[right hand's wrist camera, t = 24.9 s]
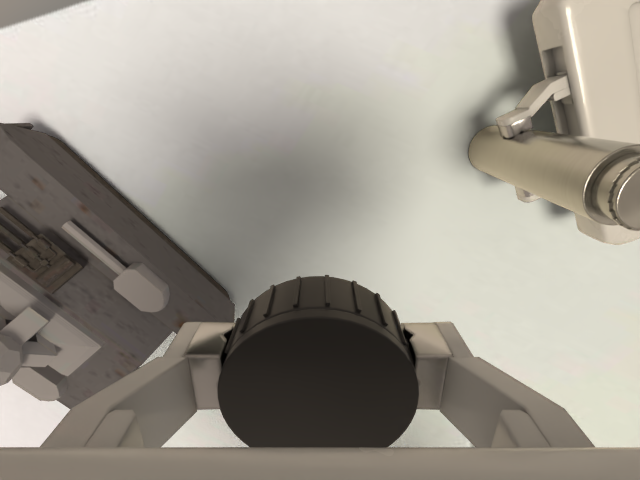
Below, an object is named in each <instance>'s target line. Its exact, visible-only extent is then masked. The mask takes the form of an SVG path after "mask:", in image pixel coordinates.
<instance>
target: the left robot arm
mask: <svg viewBox="0 0 640 480" xmlns="http://www.w3.org/2000/svg"><path fill="white" fill-rule="evenodd" d="M532 21H533V26H534V31H535V35H536V40H537V44H538V49H539V53H540V58H541V63H542V67H543V72H544V76H545V80H543V81H541V82H539V83H537V84H534V85H533V86H532V87H531V88H530V90H529V91H528V92H527V94H526V95H525V96H524V97H523V99H522V100H521V101H520V102H519V104H518V105H517V106H516V109H515V110H513V111H511V112H509V113H506V114H504V115H502V116H500V117H498V118H497V119H496V122H497V125H498V129H499V133H500V136H501V137H505V138H511V137H514V136H516V135H518V134H519V133H520V132H521V131H522V132H525V131H527V130H529V129H532V128H533V125H532V120H531V117H532V116H533V115H534V114H535V113H536V112H537V111H538V110H539V108H540V107H541V106H542V105H543V104H544V103H545V102H546V101H550V104H551V108H552V113H553V117H554V122H555V126H556V131H557V133H560V134H567V135H575V136H582V137H590V138H597V139H605V140H613V141H620V142H628V143H635V144H640V0H541V1H540V2H539V4H538V6H537V7H536V9H535V11H534V13H533V15H532ZM515 190H516V194H517V197H518V199H519V200H521V201H523V202H532V201H535V200H537V199H539V198H541V197H539V196H536V195H534V194H532V193H530V192H527V191H525V190H523V189H521V188H518V187H516V186H515ZM574 213H575V212H574ZM575 218H576V223H577V227H578V229H579V231H580V232H582V233H584V234H586V235H588V236H590V237H591V238H594V239H596V240H598V241H601V242H604V243H607V244H613V245H621V244H625V243H628V242H631V241H634V240H637V239H639V238H640V231H632V230H629V229H626V228H624V227H622V226H620V225H604V224H600V223H597V222H595V221H593V220H591V219H588V218H586V217H584V216H582V215H579V214H577V213H575Z"/></svg>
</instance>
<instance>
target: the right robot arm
mask: <svg viewBox="0 0 640 480" xmlns="http://www.w3.org/2000/svg"><path fill="white" fill-rule="evenodd" d="M234 326H235V323H231V322H186V323H184V324H183V325H182V327H181V329H180V330H179V332H178V333H177V335H176V336H175V338H174V340H173V341H172V343H171V344H170V346H169V348H168V349H167V351H166V352H165V354H164V356H163V357H157V358H155V359H153V360H152V361H150V362H148V363H147V364H145V365H143V366H142V367H140V368H138V369H137V370H135V371H133V372H132V373H130V374H128V375H127V376H125V377H123V378H122V379H120V380H118V381H117V382H115V383H113V384H112V385H110V386H108V387H106V388H105V389H103V390H101V391H100V392H98V393H96V394H95V395H93V396H91V397H90V398H88V399H86V400H85V401H83V402H81V403H80V404H78V405H76V406H75V407H73V408H72V409H71V410H70V411H69V412H68V413H67V415H66V416H65V417H64V418H63V419H62V421H61V422H60V423H59V424H58V426H57V427H56V428H55V429H54V430H53V432H52V433H51V434H50V435H49V437H48V438H47V439H46V440H45V441H44V443H43V444H42V445H41V446H40V447H0V480H640V447H613V448H596V447H595V446H594V445H593V444H592V442H591V441H590V440H589V439H588V437H587V436H586V435H585V434H584V432H583V431H582V430H581V429H580V427H579V426H578V425H577V424H576V422H575V421H574V420H573V419H572V417H571V416H570V415H569V414H568V412H567V411H566V410H565V409H564V408H562V407H561V406H559V405H557V404H556V403H554V402H553V401H551V400H549V399H548V398H546V397H544V396H543V395H541V394H539V393H538V392H536V391H534V390H533V389H531V388H529V387H528V386H526V385H524V384H523V383H521V382H519V381H518V380H516V379H514V378H513V377H511V376H509V375H508V374H506V373H504V372H503V371H501V370H499V369H498V368H496V367H495V366H493V365H491V364H490V363H488V362H486V361H485V360H483V359H481V358H480V357H474V356H473V355H472V353H471V352H470V350H469V348H468V347H467V345H466V344H465V342H464V340H463V339H462V337H461V335H460V334H459V332H458V331H457V329H456V327H455V326H454V324H453V323H452V322H434V323H401V328H402V331H403V334H404V336H405V338H406V339H407V340H408V342H409V351H410V354H411V357H412V359H413V362H414V368H415V371H416V375H417V379H418V383H419V400H418V406H417V409H435V410H440V412H441V413H442V414H443V415H444V416H445V417H446V418H447V419H448V420H449V421H450V422H451V423H452V424H453V425H454V426H455V427H456V428H457V429H458V430H459V431H460V432H461V433H462V434H463V435H464V436H465V437H466V438H467V439H468V440H469V441H470V442H471V443H472V444H473V445H474V446H475V447H476V448H378V447H187V448H160V447H161V446H162V445H163V444H164V443H165V442H167V441H168V440H169V439H170V438H171V437H172V436H173V435H174V434H175V433H176V432H177V431H178V430H179V429H180V428H181V427H182V426H183V425H184V424H185V423H186V422H187V421H188V420H189V419H190V418H191V417H192V416H193V415H194V414H195V413H196V412H197V410H201V409H220V407H219V402H218V393H217V386H218V380H219V375H220V373H221V370H222V367H223V364H224V361H225V359H226V356H227V353H225V350H226V347H227V344H228V342H229V339H230V337H231V334H232V331H233V329H234Z"/></svg>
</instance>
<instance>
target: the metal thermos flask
mask: <svg viewBox="0 0 640 480" xmlns="http://www.w3.org/2000/svg"><path fill="white" fill-rule="evenodd" d="M469 159H470V162H471V163H472V165H473V166H474V167H475V168H476V169H478V170H480V171H482V172H484V173H487V174H489V175H491V176H494V177H496V178H498V179H500V180H503V181H505V182H507V183H509V184H512V185H514V186H516V187H518V188H521V189H523V190H525V191H527V192H530V193H532V194H534V195H536V196H539V197H541V198H543V199H545V200H548V201H550V202H552V203H554V204H557V205H559V206H561V207H563V208H566V209H568V210H570V211H573V212H575V213H577V214H579V215H582V216H584V217H586V218H588V219H591V220H593V221H595V222H597V223H600V224H604V225H620V226H622V227H624V228H626V229H629V230H632V231H640V144H635V143H628V142H620V141H613V140H605V139H597V138H590V137H582V136H575V135H567V134H560V133H552V132H545V131H537V130H527V131H525V132H522V131H521V132H520V133H519V134H518V135H516V136H514V137H511V138H505V137H501V136H500V133H499V129H498V125H493V126H489V127H486V128H484V129H482V130H481V131H479V132H478V133H477V134H476V135H475V136H474V138H473V139H472V141H471V143H470V146H469Z"/></svg>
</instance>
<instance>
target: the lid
mask: <svg viewBox="0 0 640 480" xmlns="http://www.w3.org/2000/svg"><path fill="white" fill-rule="evenodd" d="M225 353H227V356H226V359H225V361H224V364H223V367H222V370H221V373H220V375H219V380H218V386H217V393H218V402H219V407H220V410H221V412H222V415H223V417H224V419H225V421H226V423H227V424H228V426H229V427H230V429H231V430H232V431H233V432H234V434H235V435H236V436H237V437H238V438H239V439H240V440H241V441H243V442H244V443H245V444H247V445H248V446H249V447H378V448H387V447H388V446H390V445H391V444H392V443H393V442H395V441H396V440H397V439H398V438H399V437H400V436H401V435H402V434H403V433H404V431H405V430H406V429H407V427H408V426H409V424H410V423H411V421H412V419H413V417H414V415H415V413H416V409H417V406H418V400H419V383H418V379H417V375H416V371H415V368H414V362H413V359H412V357H411V354H410V351H409V342H408V340H407V339H406V338H405V336H404V334H403V331H402V328H401V325H400V322H399V319H398V316H397V313H396V311H395V310H393V311H392V310H391V309H390V308H389V306H388V305H387V304H386V303H385V302H384V301H383V300H382V299H381V298H380V295H379V294H378V293H376V294H374V293H373V292H371V291H370V290H368V289H367V288H365V287H362V286H360V285H358V284H357V282H356V281H352V282H350V281H347V280H344V279H339V278H334V277H329V275H325V277H324V276H313V277H303V278H301V277H300V276H299V277H297V278H296V279H293V280H290V281H286V282H284V283H281V284H279V285H276V286H274V285H272V286H271V287H270V289H269V290H267V291H265V292H264V293H263V294H261V295H260V296H259V297H257V298H256V299H255V300H253V299H252V300H251V301H250V303H249V306H248V308H247V309H246V310H245V312H244V313H243V315H242V317H241V319H240V318H238V319H237V321H236V323H235V326H234V329H233V331H232V334H231V337H230V339H229V342H228V344H227V347H226V350H225Z"/></svg>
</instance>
